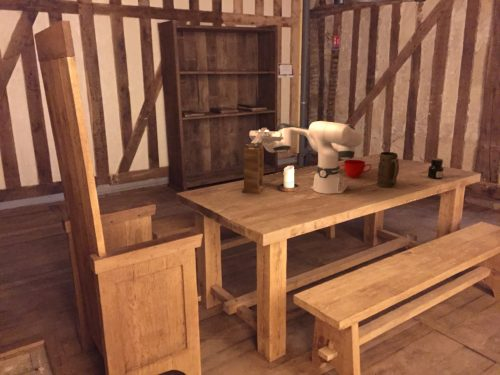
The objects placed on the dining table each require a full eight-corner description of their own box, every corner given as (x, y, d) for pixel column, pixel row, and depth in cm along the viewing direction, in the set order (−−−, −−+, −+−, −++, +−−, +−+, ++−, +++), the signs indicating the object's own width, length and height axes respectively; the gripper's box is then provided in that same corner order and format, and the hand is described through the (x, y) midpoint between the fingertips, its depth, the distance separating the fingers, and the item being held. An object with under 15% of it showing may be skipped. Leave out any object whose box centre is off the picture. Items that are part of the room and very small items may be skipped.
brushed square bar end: (262, 132, 267) (262, 127, 266) (267, 132, 266) (267, 127, 265) (251, 147, 245) (251, 142, 243) (256, 148, 244) (256, 143, 243)
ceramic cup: (370, 180, 274) (372, 164, 271) (343, 178, 277) (344, 163, 274) (369, 175, 286) (370, 160, 283) (343, 174, 289) (344, 159, 286)
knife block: (248, 186, 258) (248, 141, 251) (264, 187, 256) (265, 141, 248) (242, 192, 246) (242, 144, 239) (259, 193, 243) (259, 145, 236)
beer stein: (371, 184, 265) (376, 151, 258) (385, 181, 270) (389, 150, 263) (390, 192, 252) (395, 158, 246) (403, 189, 257) (409, 156, 250)
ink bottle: (440, 180, 275) (442, 161, 272) (425, 178, 280) (427, 159, 277) (444, 177, 283) (446, 158, 279) (430, 175, 288) (432, 157, 284)
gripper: (283, 144, 273) (279, 136, 260) (251, 143, 278) (246, 135, 265) (284, 135, 274) (281, 126, 261) (253, 133, 279) (248, 125, 266)
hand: (263, 130), depth 263 cm, fingers closed on brushed square bar end, 3 cm apart
